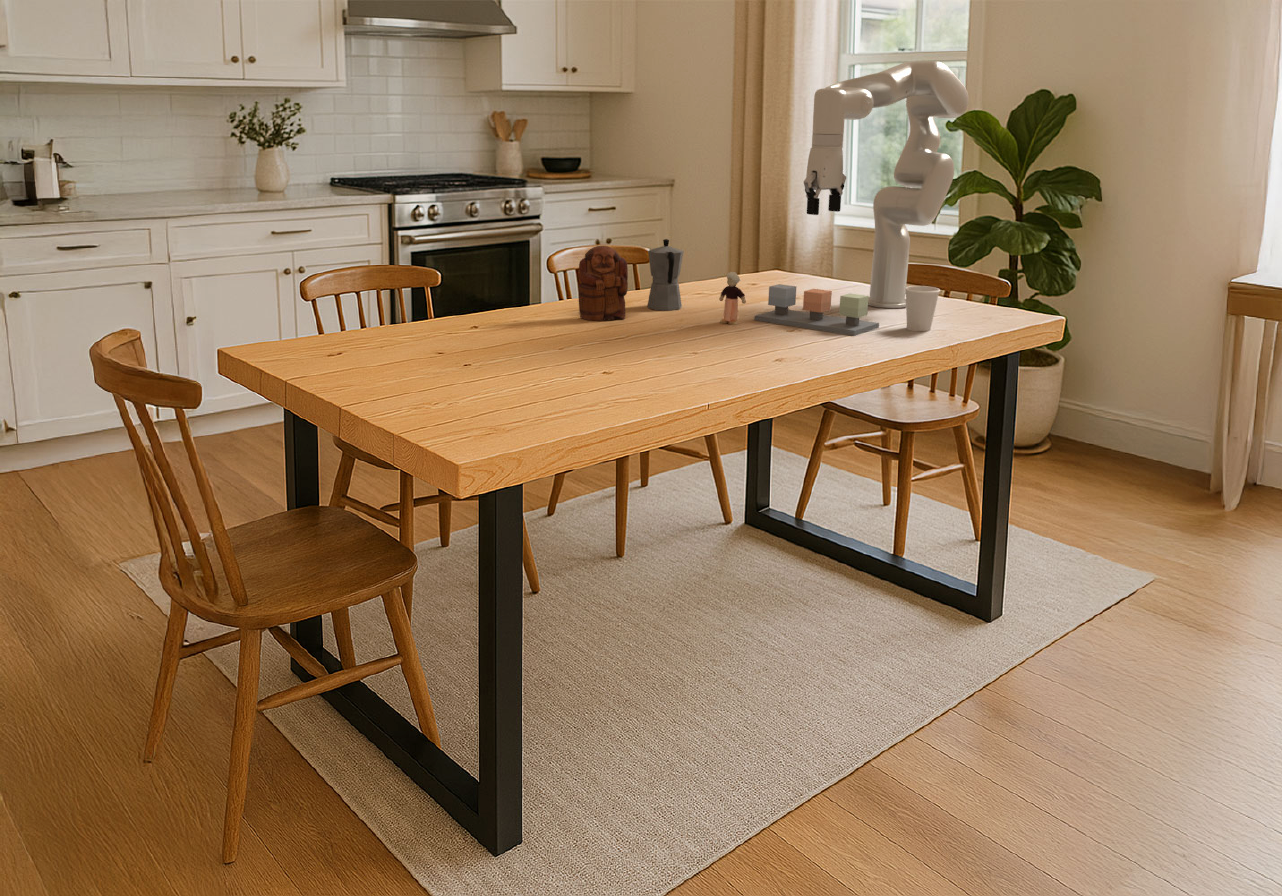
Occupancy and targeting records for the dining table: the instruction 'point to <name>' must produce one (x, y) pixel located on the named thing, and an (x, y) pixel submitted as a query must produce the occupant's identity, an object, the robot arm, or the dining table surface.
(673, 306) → the coffeepot
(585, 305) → the wooden figurine
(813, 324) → the button board
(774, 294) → the button slate
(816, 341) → the dining table surface
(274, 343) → the dining table surface
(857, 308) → the button sage
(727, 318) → the grandmother figurine
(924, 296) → the dixie cup
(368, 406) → the dining table surface
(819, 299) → the button terracotta
